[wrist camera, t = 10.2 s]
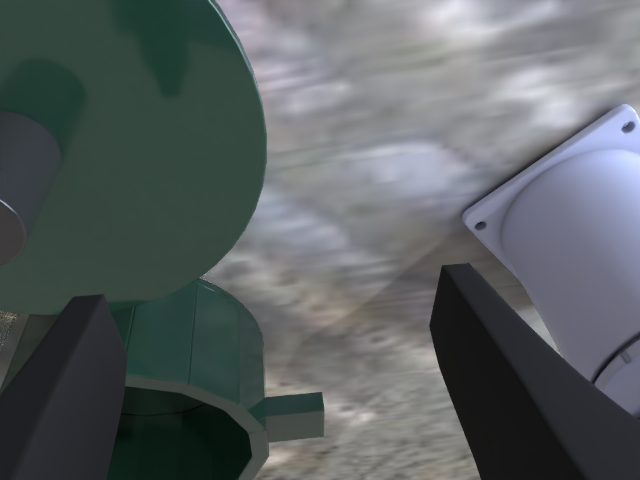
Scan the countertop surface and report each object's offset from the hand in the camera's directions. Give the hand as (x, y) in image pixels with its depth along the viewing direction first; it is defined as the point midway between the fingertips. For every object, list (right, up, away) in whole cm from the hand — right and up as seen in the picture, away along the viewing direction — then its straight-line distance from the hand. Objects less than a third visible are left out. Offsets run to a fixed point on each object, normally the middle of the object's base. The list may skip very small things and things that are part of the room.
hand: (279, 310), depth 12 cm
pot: (-8, -4, +17) cm, 19 cm away
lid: (-8, +4, +4) cm, 10 cm away
